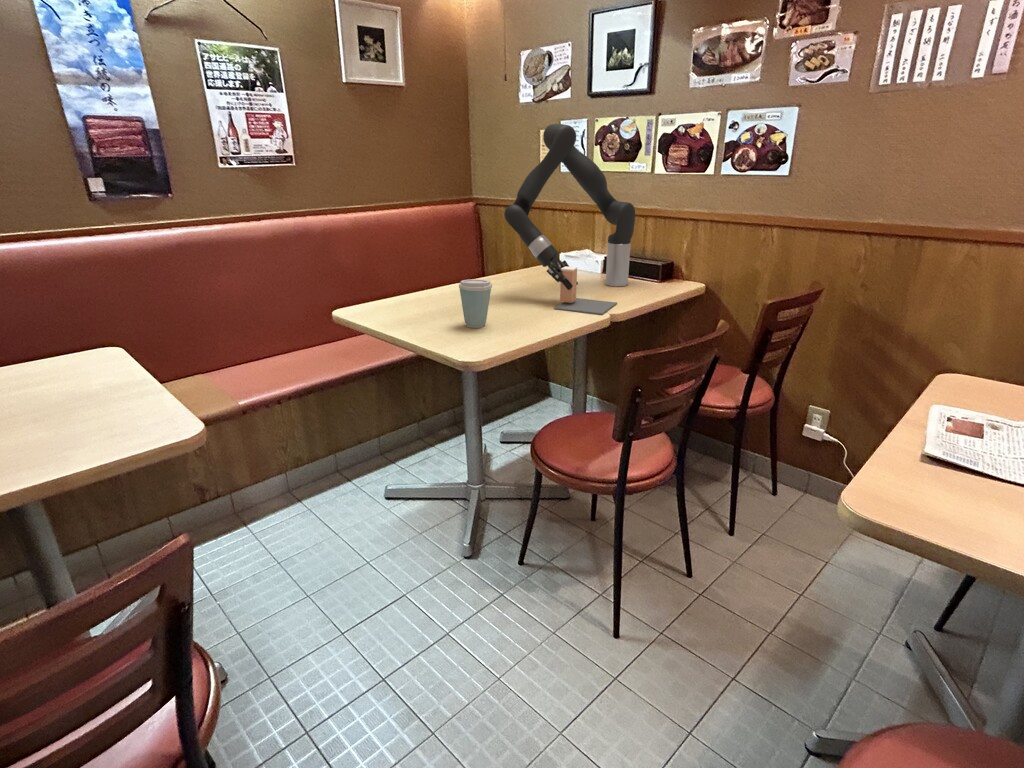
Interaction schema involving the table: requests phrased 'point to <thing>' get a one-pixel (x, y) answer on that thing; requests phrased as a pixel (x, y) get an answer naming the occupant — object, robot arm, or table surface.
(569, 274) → the terracotta block
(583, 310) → the charcoal mat
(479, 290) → the disposable coffee cup
